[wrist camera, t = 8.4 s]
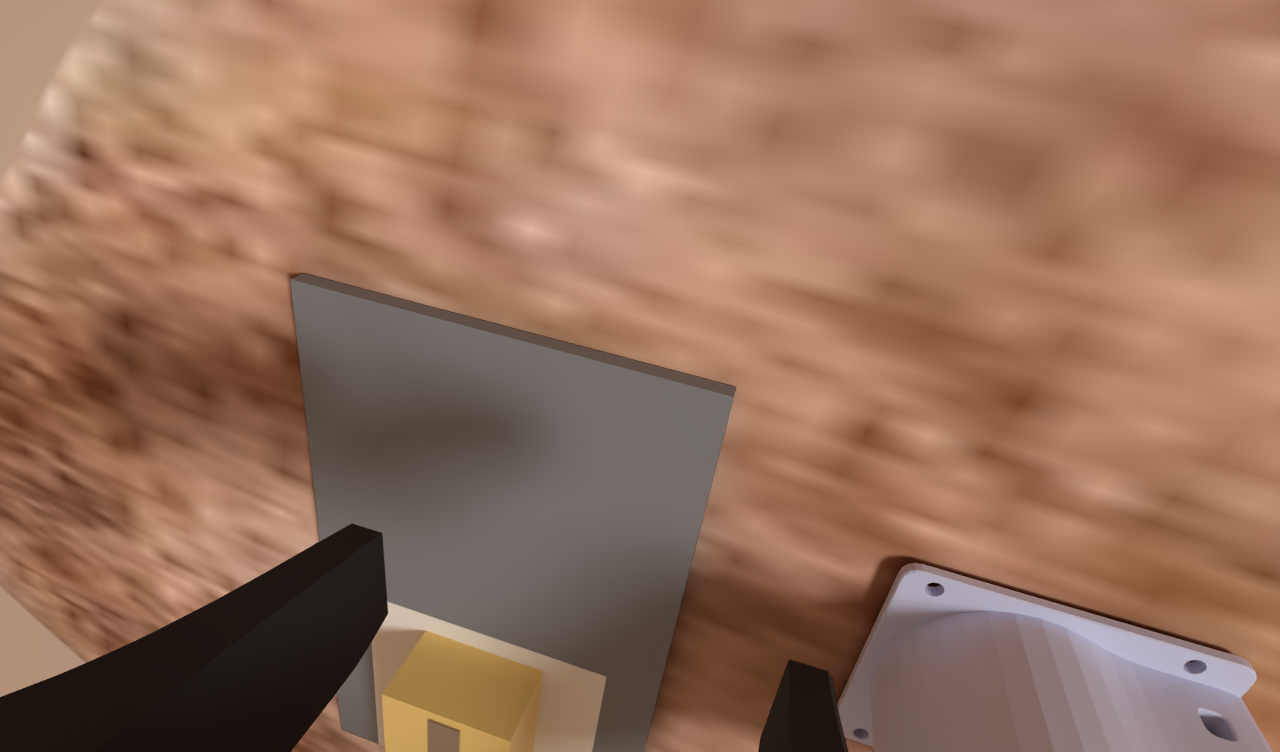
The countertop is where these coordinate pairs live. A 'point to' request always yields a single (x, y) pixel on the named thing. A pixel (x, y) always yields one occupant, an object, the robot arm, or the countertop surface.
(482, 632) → the mat
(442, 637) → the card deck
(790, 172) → the countertop surface
